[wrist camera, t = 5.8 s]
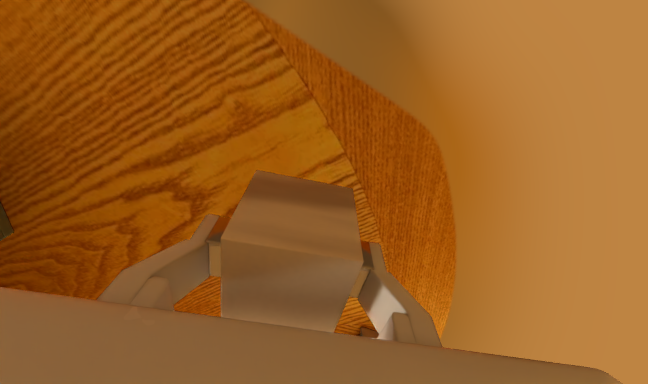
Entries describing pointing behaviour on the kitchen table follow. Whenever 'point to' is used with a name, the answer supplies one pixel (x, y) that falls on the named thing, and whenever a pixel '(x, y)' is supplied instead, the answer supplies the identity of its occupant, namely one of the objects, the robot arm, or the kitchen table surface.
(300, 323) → the block
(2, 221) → the box
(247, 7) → the kitchen table surface
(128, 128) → the kitchen table surface
